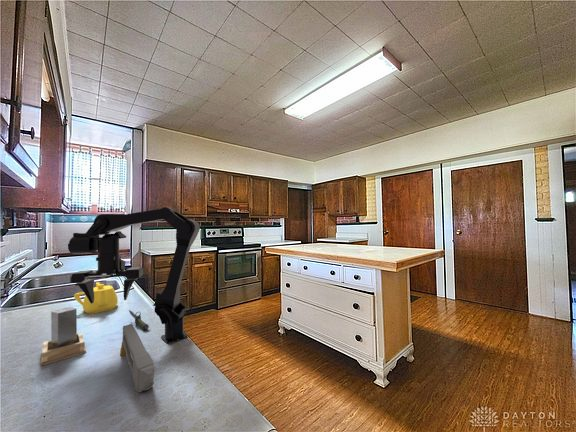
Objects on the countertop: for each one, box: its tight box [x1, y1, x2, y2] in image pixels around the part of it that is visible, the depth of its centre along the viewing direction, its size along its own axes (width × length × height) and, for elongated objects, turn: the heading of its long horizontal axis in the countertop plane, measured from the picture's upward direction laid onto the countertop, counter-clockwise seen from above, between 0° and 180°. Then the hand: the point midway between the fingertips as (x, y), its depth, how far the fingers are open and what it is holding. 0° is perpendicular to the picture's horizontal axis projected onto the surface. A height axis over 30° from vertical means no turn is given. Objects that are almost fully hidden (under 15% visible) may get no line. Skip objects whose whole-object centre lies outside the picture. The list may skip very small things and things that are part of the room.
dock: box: [40, 332, 87, 366], centre depth 75 cm, size 10×10×3 cm
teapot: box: [73, 281, 119, 315], centre depth 114 cm, size 22×16×11 cm
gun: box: [119, 323, 155, 393], centre depth 65 cm, size 3×25×15 cm, turn 43°
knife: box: [128, 309, 150, 331], centre depth 95 cm, size 19×2×5 cm, turn 49°
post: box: [50, 306, 78, 349], centre depth 76 cm, size 4×4×12 cm
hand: (109, 301), depth 82 cm, fingers open, 9 cm apart
